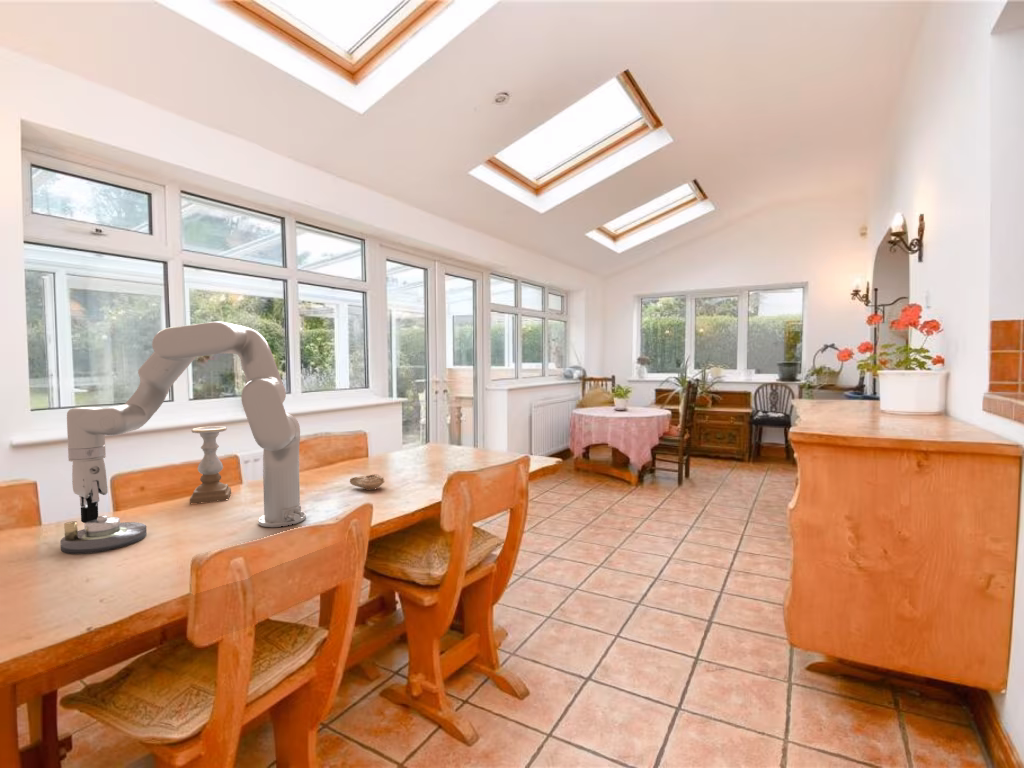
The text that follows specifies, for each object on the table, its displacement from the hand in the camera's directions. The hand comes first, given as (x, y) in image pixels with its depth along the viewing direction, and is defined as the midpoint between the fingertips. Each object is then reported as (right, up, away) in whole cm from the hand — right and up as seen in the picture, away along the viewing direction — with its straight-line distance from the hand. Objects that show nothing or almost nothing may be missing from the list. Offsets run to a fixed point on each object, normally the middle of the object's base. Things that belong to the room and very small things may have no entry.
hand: (89, 521), depth 132 cm
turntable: (+9, -4, -5) cm, 11 cm away
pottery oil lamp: (+61, -2, +48) cm, 77 cm away
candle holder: (+11, -2, +35) cm, 37 cm away
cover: (+8, -2, -5) cm, 10 cm away
